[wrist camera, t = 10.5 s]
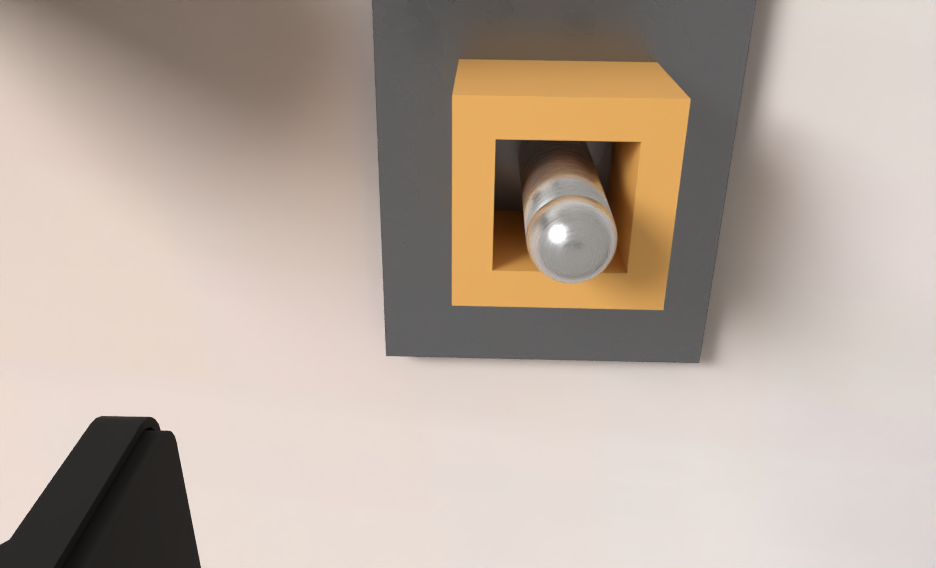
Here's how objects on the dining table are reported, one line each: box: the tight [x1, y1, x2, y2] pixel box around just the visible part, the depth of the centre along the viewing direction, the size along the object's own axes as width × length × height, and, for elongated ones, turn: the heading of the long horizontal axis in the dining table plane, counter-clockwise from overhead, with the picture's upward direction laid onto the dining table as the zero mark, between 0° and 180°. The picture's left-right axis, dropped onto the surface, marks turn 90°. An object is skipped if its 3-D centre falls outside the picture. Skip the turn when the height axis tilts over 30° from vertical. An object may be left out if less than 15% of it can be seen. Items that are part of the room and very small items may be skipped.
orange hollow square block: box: [452, 59, 691, 310], centre depth 26 cm, size 6×6×5 cm
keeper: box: [372, 0, 756, 363], centre depth 25 cm, size 16×12×9 cm
